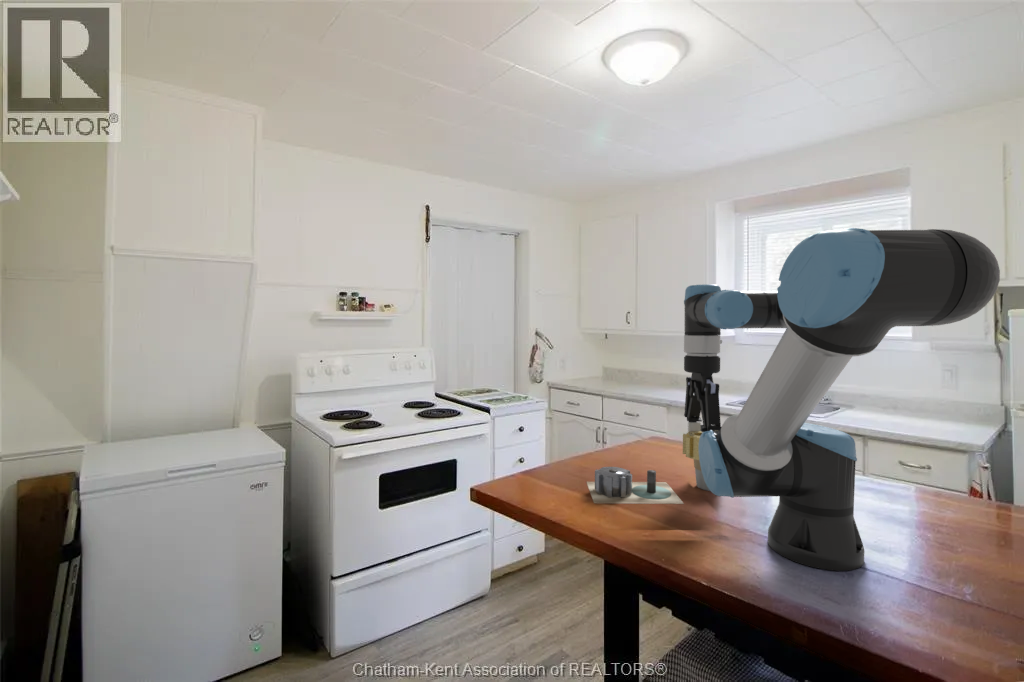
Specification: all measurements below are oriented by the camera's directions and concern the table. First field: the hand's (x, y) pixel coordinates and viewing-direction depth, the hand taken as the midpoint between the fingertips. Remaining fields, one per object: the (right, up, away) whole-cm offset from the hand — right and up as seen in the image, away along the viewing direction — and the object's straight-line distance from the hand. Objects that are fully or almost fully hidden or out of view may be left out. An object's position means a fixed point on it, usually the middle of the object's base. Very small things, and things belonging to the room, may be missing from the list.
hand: (700, 455), depth 110 cm
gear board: (-14, -12, +7) cm, 19 cm away
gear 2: (0, 0, 0) cm, 1 cm away
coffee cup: (+7, -11, +14) cm, 19 cm away
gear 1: (-18, -10, +7) cm, 22 cm away
